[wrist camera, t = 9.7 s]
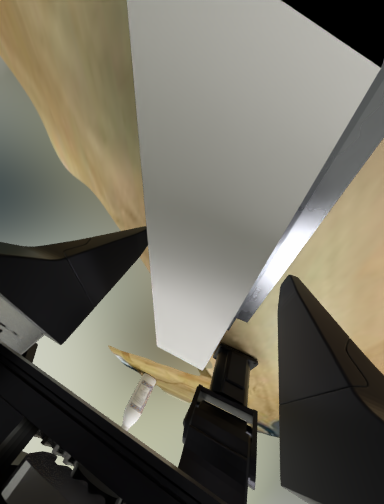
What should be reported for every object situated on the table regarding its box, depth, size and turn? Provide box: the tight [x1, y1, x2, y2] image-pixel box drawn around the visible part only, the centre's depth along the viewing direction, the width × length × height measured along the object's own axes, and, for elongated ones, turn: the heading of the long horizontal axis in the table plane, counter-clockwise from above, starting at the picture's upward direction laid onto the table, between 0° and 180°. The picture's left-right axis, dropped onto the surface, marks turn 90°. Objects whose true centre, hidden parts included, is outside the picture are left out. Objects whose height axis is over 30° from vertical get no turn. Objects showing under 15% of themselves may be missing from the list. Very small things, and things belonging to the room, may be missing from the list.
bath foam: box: [121, 373, 156, 431], centre depth 63 cm, size 7×7×20 cm
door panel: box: [127, 0, 384, 371], centre depth 10 cm, size 16×4×8 cm, turn 173°
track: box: [227, 61, 384, 330], centre depth 12 cm, size 24×12×3 cm, turn 173°
